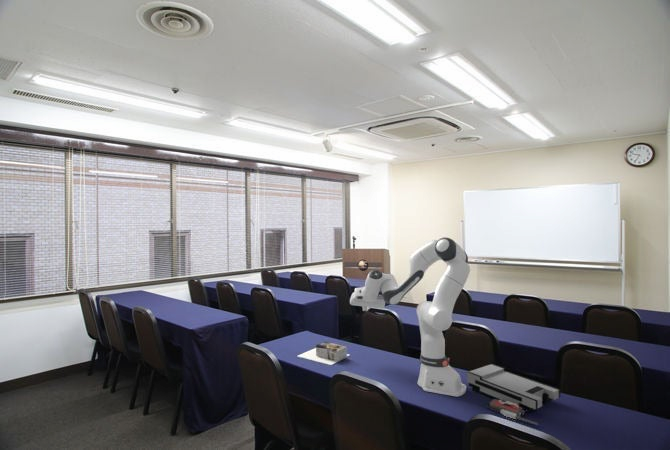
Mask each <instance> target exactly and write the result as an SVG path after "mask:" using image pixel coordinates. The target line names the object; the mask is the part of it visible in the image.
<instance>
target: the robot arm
mask: <svg viewBox="0 0 670 450" xmlns="http://www.w3.org/2000/svg"><path fill="white" fill-rule="evenodd" d="M438 261H443V262H444V263H445V265H446V268H445V271H444V272H443V273H442V275H441V277H440V279H439V281H438V283H437V284H436V286H435V287H434V295H433V299H432V301H430V300H429V301H427V300H425V301H421V302H419V304H418V305H417V306H416V312H415V313H416V316H417V318H418V325H419V332H420V340H421V344H420V345H421V346H420V351H421V352H420V356H419V365H420V368H419V369H420V370H419V375H418V379H417V383H416V384H417V385H418V386H419V387H421V388H422V389H423V391H425V392H428V393H429V392H430V393H435V394H439V395H446V396H452V397H461V396H463V395H464V394H465V393H466V392H467V386H466V384H464V383H462V378H461V376H460V374H459V372H457V371H456V370H455V369H454V368H453V367H452V366H451V365H450V362H449V361H450V357H447V356H446V354H445V353H446V351H445V349H446V348H445V347H446V344H445V343H446V340H445V337H444V333H443V331H446V330H448V329H449V328H450V327H451V325H452V323H453V316H452V315H453V310H454V307H455V304H456V302H457V299H458V298H459V295H460V293H461V291H462V290H463V288H464V287H465V285H466V282H467V280H468V278H469V274H470V272H471V267H470V265H469V264H468V263H469V257H468V254H467V253H466V251H464V249H463V248H462V247H461V245H459V244H458V243H457V242H456V241H455V240H453V239H452V238H450V237H445V236H444V237H441V238H439V239H432V240H430V241H427V242H426V243H424V244H423V245H421V246H420V247H419V248H417V249H416V250H414V251H413V252H412V253H411V255H410V257H409V273H408V276H407V277H406V278H405V279H404V280H403V281H402V282H401V283H400V284H398V282H397V279H396V277H395V276H394V274H392V273H387V272H386V273H385V272H382V271H381V270H379V269H372V270H371V271H369V273H368V275H367V277H366V278H365V282H364V286H362V287H361V286H360V287H355V288H354V292H352V294H351V296H350V298H349V305H351V306H357V307H361V308H362V311H363V312H368V311H369V310H370V309H371V308H372V309H373V308H374V309H380V310H382V309H384V308H385V307H386V306H385V305H386V304H388V305H391V306H395V305H397V304H399V303H400V302H401V301H402V300H403V298H404V297H405V296H406V294H408V293H409V292H410V291H411V290H412V289H413V288H414V287H415V286H416V285H417V284H418V283H420V281H422V279H423V278H424V276H425V275H424V274H425V273H426V272H427V270H428V269H429V268H430V267H431V266H432V265H434V264H435V263H436V262H438ZM380 292H381V293H382V294H379V293H380Z"/></svg>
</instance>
